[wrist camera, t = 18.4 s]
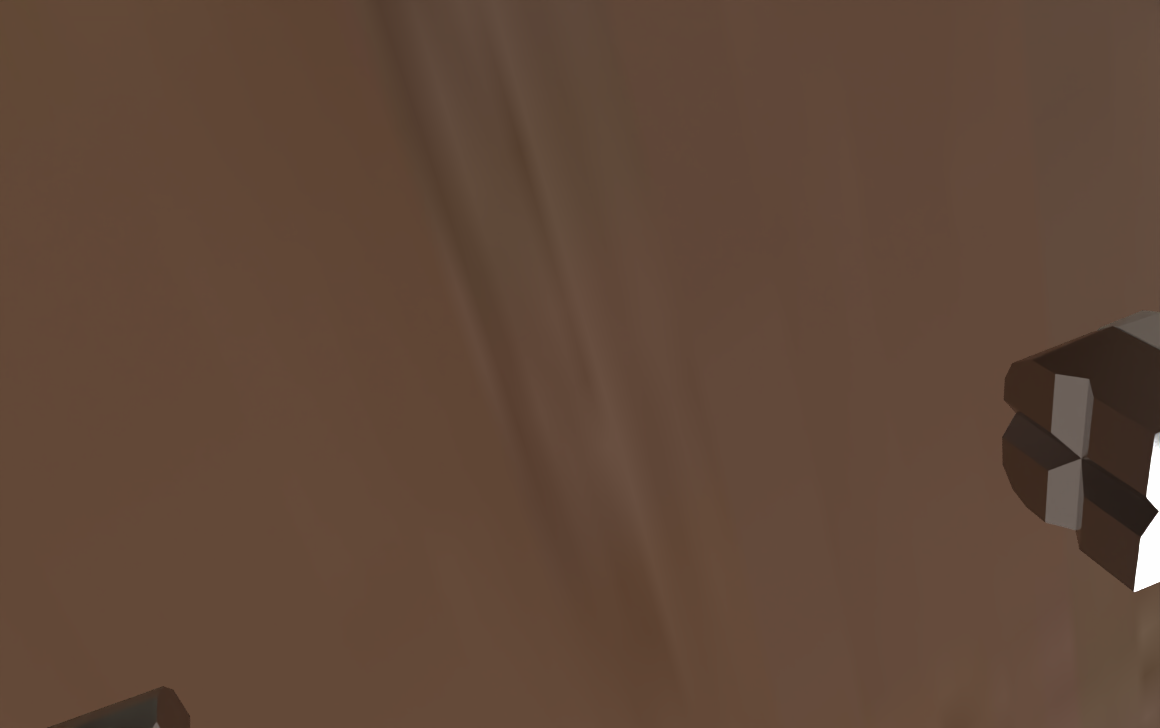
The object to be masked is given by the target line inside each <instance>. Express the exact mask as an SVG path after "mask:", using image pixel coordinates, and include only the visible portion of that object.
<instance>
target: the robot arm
mask: <svg viewBox="0 0 1160 728" xmlns="http://www.w3.org/2000/svg"><path fill="white" fill-rule="evenodd" d="M1004 401H1005V402H1006V403H1007V404H1008V405H1009V406H1010V407H1011V408H1012V409H1013V410H1014V411H1015V412H1016V414H1015V416H1014V418H1013V419H1012V421H1011V423H1010V424H1009V426H1008V428H1007V430H1006V431H1005V433H1004V435H1003V437H1002V450H1003V466H1004V469H1005V471H1006V474H1007V476H1008V479H1009V481H1010V484H1011V486H1012V489H1013V490H1014V492H1015V493H1016V494H1017V495H1018V497H1019V498H1020V499H1021V501H1022V502H1023V503H1024V505H1025V506H1026V507H1027V508H1028V509H1030V510H1031V511H1032V512H1033V513H1034V514H1036V515H1037V516H1038V517H1039V518H1040V519H1042V520H1043V521H1044V522H1046V523H1050V524H1054V525H1057V526H1061V527H1065V528H1069V529H1073V530H1076V535H1077V540H1078V544H1079V549H1080V550H1081V551H1082V552H1083V553H1085V554H1086V555H1087V556H1088V557H1090V558H1091V559H1092V560H1094V561H1095V562H1096V563H1097V564H1099V565H1100V566H1101V567H1103V568H1104V569H1105V570H1106V571H1108V572H1109V573H1110V574H1112V575H1113V576H1114V577H1115V578H1117V579H1118V580H1119V581H1120V582H1122V583H1123V584H1124V585H1126V586H1127V587H1128V588H1129V589H1131V590H1132V591H1133V592H1135V591H1138V590H1140V589H1143V588H1145V587H1147V586H1150V585H1152V584H1155V583H1157V582H1160V312H1153V311H1140V312H1138V313H1135V314H1133V315H1130V316H1128V317H1125V318H1123V319H1120V320H1118V321H1115V322H1113V323H1111V324H1108V325H1106V326H1103V327H1101V328H1099V329H1098V330H1097V331H1094V332H1091V333H1088V334H1086V335H1083V336H1081V337H1078V338H1076V339H1073V340H1070V341H1068V342H1065V343H1063V344H1060V345H1058V346H1055V347H1052V348H1050V349H1047V350H1045V351H1042V352H1040V353H1037V354H1034V355H1032V356H1029V357H1027V358H1024V359H1022V360H1019V361H1016V362H1014V363H1012V365H1011V367H1010V369H1009V371H1008V373H1007V375H1006V377H1005V386H1004ZM48 728H190V715H189V714H188V712H187V711H186V709H185V708H184V706H183V704H182V703H181V701H180V700H179V698H178V696H177V695H176V693H175V692H174V690H173V689H170V688H167V687H164V686H163V687H160V688H157V689H154V690H151V691H149V692H146V693H143V694H140V695H137V696H134V697H132V698H129V699H126V700H123V701H120V702H118V703H115V704H112V705H109V706H106V707H104V708H101V709H98V710H95V711H92V712H90V713H87V714H84V715H81V716H78V717H76V718H73V719H70V720H67V721H64V722H62V723H59V724H56V725H53V726H50V727H48Z"/></svg>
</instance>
